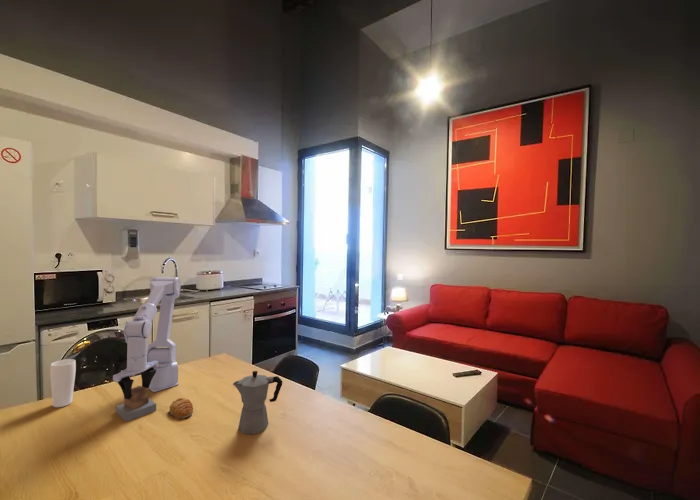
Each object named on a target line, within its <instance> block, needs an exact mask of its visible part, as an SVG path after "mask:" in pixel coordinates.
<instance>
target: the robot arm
mask: <svg viewBox="0 0 700 500" xmlns="http://www.w3.org/2000/svg"><path fill="white" fill-rule="evenodd" d="M181 285H182V284H181V280H180V278H179V277H178V276H176V277H172V276H170V277H163V276H160V277H159V276H154V277H152V278H151V279H150V282H149V289H150V293H149V295H148V297H147V300H146V302H145V303H142V304H141V305H140V306H139V308H138V309H137V311H136V313H135V315H134V316H133V318H132V320H129V321H128V322H126V323H125V325H124V327H123V328H124V329H123V336H124V339H125V343H126V344H127V345H126V346H127V349H126V350H127V354H126V357H127V358H126V359H127V360H126V368H125V369H123V370H121V371H120V372H118V373H116V374H113V375H112V381H113V382H115V383H117V384H118V386H119V387H120V389H121V392H122V395H123V398H125V399H130V398H131V389H132V387H133V384H134V381H135V380H134V379H131V377H132V376H134V375H135V376H136V375H138V374H140V376H141V377H140V378H141V386H142V387H146V388H149V391H151V392H152V393H156V392H159V391H160V392H161V391H163V390H166V389H169V388H172V387H175V386H178V385H179V366H178V362H176V358H177V344H176V343H175V342H174V341H172V339H170V337H171V330H172V323H173V316H174V307H175V301H176V299H178V298H180V294H181V289H182V286H181ZM159 303H160V308H159V314H158V322H157V329H156V336H155V340H154V341H152V342H151V343H150V344H148V337H149V335H150V334H151V331H152V327H153V320H154V318H155V317H156V315H157V313H158V308H157V306H158V305H159Z"/></svg>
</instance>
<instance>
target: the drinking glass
mask: <svg viewBox="0 0 700 500" xmlns="http://www.w3.org/2000/svg"><path fill="white" fill-rule="evenodd" d="M76 372H77V363H76V359H73V358H65V359H59V360H56V361H53V362H52V363H51V364H50V367H49V377H50V378H49V379H50V389H51V401H52V403H51V405H52V407H53V408H63V407H66V406H68V405H70V404H72V403H73V402H74V401H73V400H74V388H75V383H76V382H75V381H76Z"/></svg>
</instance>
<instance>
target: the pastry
mask: <svg viewBox="0 0 700 500" xmlns="http://www.w3.org/2000/svg"><path fill="white" fill-rule="evenodd" d="M169 413H170V414H171V416H172V417H174V418H177V419H182V420H183V419H185V418H188V417H191V416H192V414H193V413H194V405H193V403H192V402H191V400H190V399H186V397H180V398H179V397H178V398H177V399H175V400H174V401H172V403H171V404H170V406H169Z"/></svg>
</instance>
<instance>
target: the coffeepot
mask: <svg viewBox="0 0 700 500" xmlns="http://www.w3.org/2000/svg"><path fill="white" fill-rule="evenodd" d="M258 372H259V371H257V370H253V371H252V373H251V375H247V376H243V378H241V379H239V380H236V381H234V382H233V383H232V386H234V387H235V388H236V389H237V391H238V393H239V394H240V397H241V403H242V404H243V405H242V406H243V407H242V408H241V411H240V412H241V413H240V419H239V422H238V426H237V427H238V429H239V431H240V432H241V433H243V434H245V435H257V434H260V433H262V432H263V431H265V430H266V429H267V427H268V425H269V417H268V412H267V405H266V404H265V403H266V400H267V396H268V391H269V385H270V384H273V383H277V384H276V385H275V391H274V392H273V397H272V398H269V402H270V403H272V402H277V399H278V396H279V394H280V391H281V389H282V385H283V380H282V379H281V378H280V377H279V376H278V375H277V376H276V375H275V376H267V375H265V374H258Z"/></svg>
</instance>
